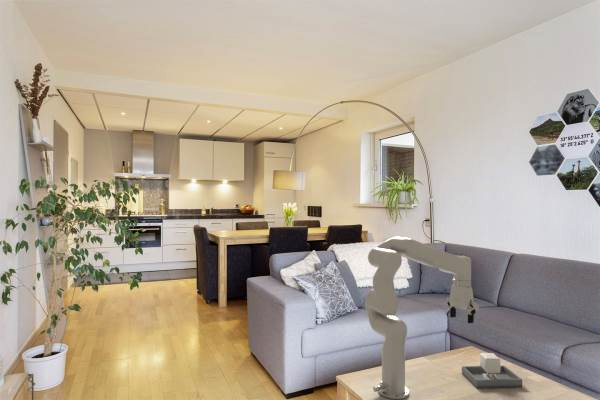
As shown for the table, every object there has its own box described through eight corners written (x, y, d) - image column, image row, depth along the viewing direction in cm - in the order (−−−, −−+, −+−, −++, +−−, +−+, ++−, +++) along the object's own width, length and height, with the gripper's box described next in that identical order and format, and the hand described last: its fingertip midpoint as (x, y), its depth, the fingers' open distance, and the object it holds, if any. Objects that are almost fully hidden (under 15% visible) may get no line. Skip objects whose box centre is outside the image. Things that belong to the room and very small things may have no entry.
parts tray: (476, 388, 165) (476, 380, 165) (461, 373, 179) (461, 366, 179) (522, 387, 165) (522, 379, 165) (504, 372, 179) (504, 365, 179)
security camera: (494, 375, 175) (494, 353, 175) (501, 382, 168) (501, 359, 168) (480, 374, 175) (480, 352, 176) (486, 381, 169) (486, 359, 169)
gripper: (441, 280, 185) (441, 316, 184) (472, 287, 169) (472, 326, 169) (452, 279, 188) (452, 314, 188) (484, 286, 173) (483, 324, 173)
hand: (461, 320), depth 179 cm, fingers open, 9 cm apart
